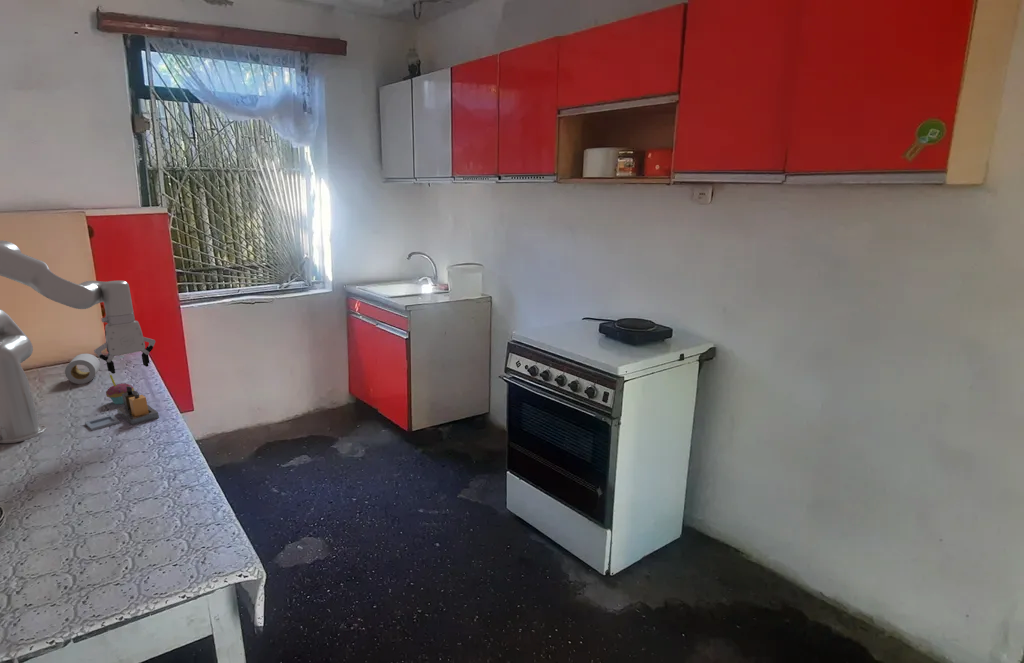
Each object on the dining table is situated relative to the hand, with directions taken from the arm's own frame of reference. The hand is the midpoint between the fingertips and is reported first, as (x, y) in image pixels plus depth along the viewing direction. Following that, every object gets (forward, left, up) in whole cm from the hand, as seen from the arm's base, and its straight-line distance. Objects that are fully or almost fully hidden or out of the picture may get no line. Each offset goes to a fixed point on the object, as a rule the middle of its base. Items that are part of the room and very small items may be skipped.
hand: (129, 369), depth 194 cm
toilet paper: (-1, +65, -18) cm, 68 cm away
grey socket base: (0, +3, -18) cm, 18 cm away
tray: (-10, +5, -18) cm, 21 cm away
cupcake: (+1, +23, -18) cm, 30 cm away
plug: (0, 0, -18) cm, 18 cm away
